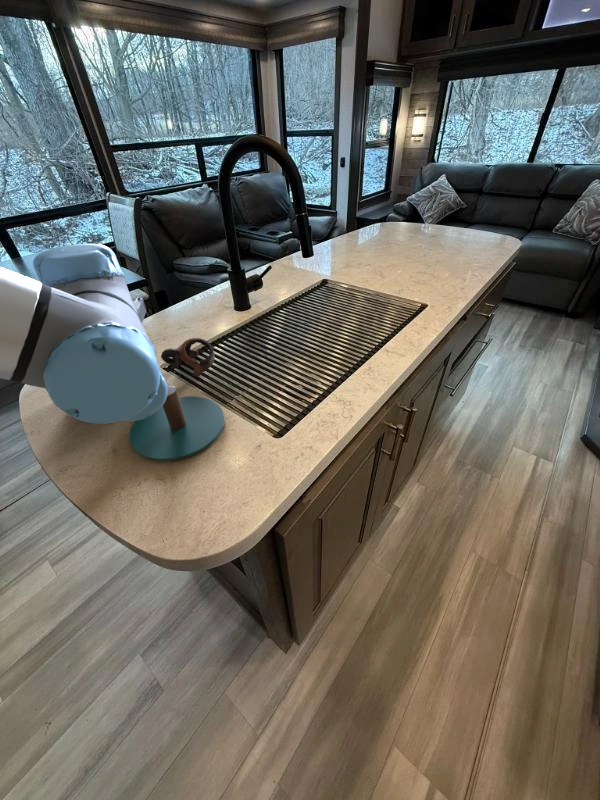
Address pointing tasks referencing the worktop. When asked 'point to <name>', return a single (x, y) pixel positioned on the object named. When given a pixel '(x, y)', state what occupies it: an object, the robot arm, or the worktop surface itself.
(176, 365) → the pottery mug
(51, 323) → the robot arm
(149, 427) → the lid
